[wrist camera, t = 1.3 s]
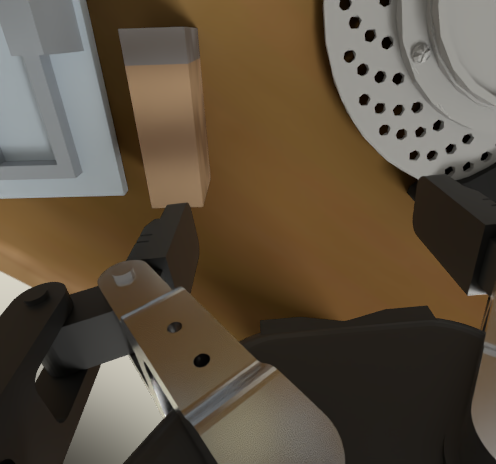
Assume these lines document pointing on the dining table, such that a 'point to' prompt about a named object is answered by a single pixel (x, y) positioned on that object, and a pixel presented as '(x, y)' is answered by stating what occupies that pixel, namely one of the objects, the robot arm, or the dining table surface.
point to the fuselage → (168, 112)
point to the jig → (54, 105)
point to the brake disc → (422, 83)
